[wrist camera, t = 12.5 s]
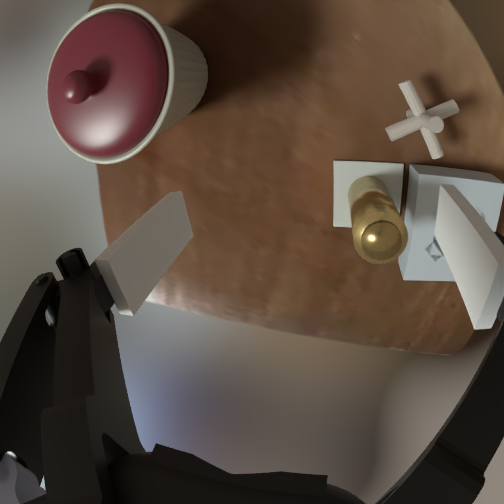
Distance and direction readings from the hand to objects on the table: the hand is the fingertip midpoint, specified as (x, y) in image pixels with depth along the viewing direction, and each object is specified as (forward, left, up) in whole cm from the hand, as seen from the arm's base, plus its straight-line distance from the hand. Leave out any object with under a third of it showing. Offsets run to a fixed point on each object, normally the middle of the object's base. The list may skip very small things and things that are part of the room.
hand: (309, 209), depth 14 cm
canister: (-10, -21, -29) cm, 37 cm away
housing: (+12, +20, -28) cm, 37 cm away
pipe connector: (-3, +13, -29) cm, 31 cm away
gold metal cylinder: (+9, +7, -28) cm, 30 cm away
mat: (+9, +7, -28) cm, 31 cm away
